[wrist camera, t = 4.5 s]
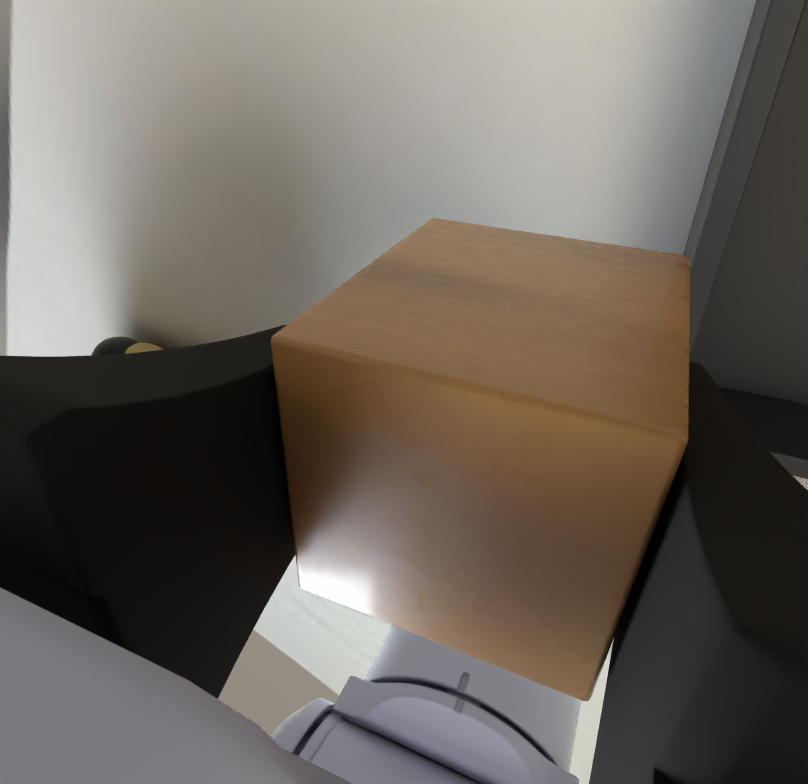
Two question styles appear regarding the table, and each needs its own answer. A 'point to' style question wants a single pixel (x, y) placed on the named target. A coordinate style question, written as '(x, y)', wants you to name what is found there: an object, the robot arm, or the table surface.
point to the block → (488, 439)
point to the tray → (759, 239)
